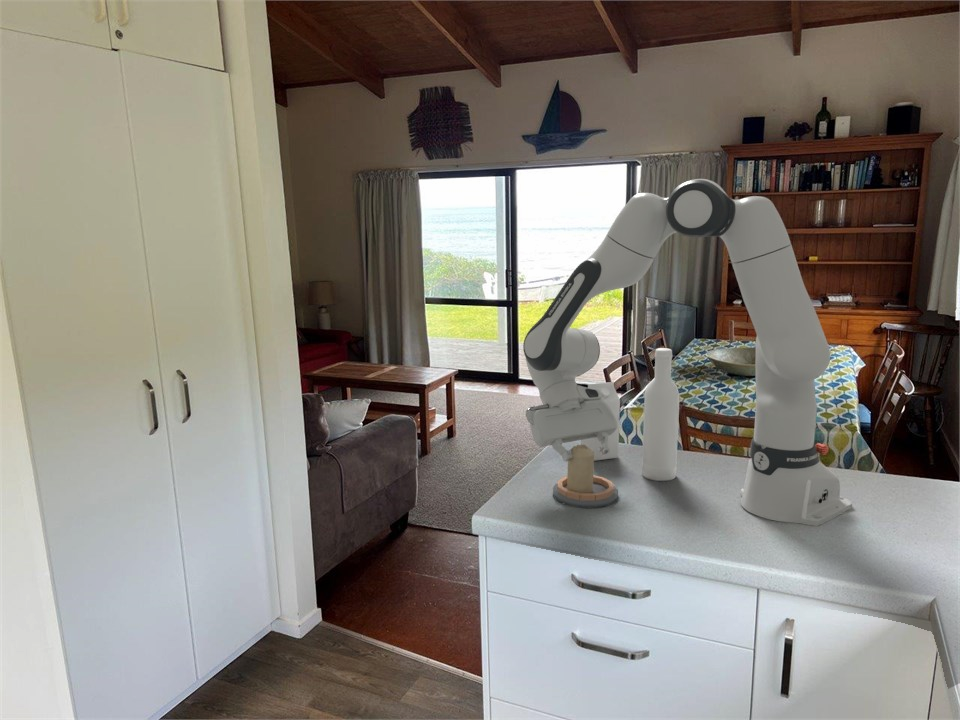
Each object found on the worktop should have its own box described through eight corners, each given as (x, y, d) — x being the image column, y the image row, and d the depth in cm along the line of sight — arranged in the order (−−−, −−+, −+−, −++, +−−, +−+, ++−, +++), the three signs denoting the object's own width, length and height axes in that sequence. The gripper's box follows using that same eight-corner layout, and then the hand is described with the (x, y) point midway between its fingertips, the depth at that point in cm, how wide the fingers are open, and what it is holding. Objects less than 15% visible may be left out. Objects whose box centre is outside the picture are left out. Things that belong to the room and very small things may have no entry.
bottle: (636, 470, 159) (640, 346, 153) (668, 468, 160) (673, 345, 154) (648, 482, 151) (653, 353, 146) (681, 480, 152) (688, 351, 146)
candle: (591, 496, 140) (593, 451, 139) (565, 494, 142) (567, 449, 140) (593, 487, 146) (595, 443, 144) (568, 484, 147) (569, 441, 145)
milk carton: (580, 452, 172) (581, 381, 169) (605, 449, 174) (606, 379, 171) (593, 461, 166) (594, 387, 162) (618, 458, 168) (620, 384, 164)
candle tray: (593, 479, 154) (593, 469, 153) (631, 500, 141) (631, 489, 141) (541, 489, 148) (541, 479, 147) (576, 512, 135) (576, 501, 135)
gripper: (527, 400, 142) (551, 457, 136) (606, 389, 151) (632, 442, 144) (518, 415, 147) (540, 471, 140) (594, 404, 156) (619, 456, 149)
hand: (587, 456), depth 142 cm, fingers open, 8 cm apart
